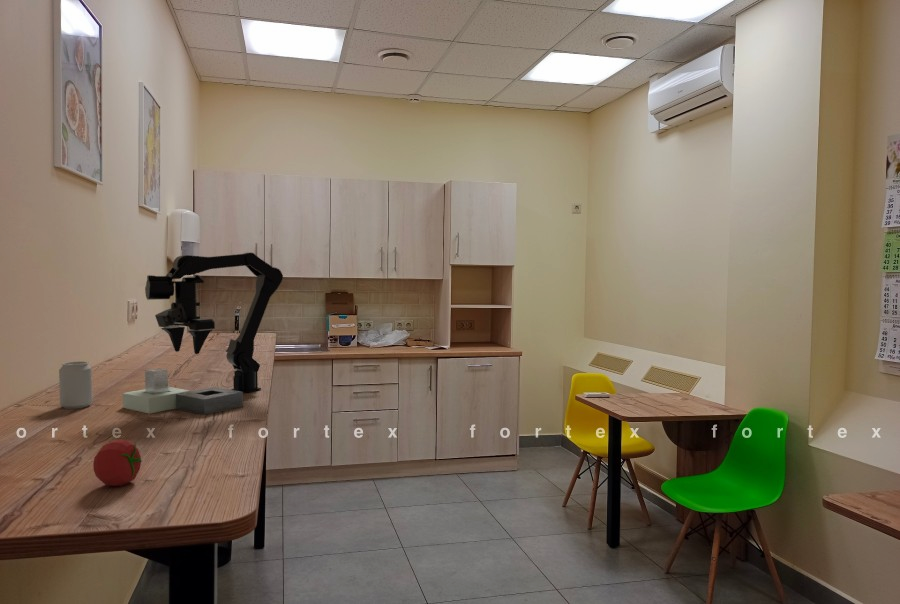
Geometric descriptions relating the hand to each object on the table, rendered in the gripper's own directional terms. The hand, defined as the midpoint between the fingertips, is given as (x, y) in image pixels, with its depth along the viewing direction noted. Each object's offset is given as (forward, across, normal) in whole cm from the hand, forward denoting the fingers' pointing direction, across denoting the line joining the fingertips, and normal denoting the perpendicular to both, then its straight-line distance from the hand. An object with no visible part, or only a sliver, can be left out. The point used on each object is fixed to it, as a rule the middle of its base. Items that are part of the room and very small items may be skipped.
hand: (186, 352), depth 179 cm
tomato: (+13, +55, -51) cm, 76 cm away
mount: (+13, +17, -5) cm, 22 cm away
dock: (+13, +4, -12) cm, 18 cm away
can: (+13, -14, -24) cm, 31 cm away
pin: (+13, +4, -12) cm, 18 cm away
